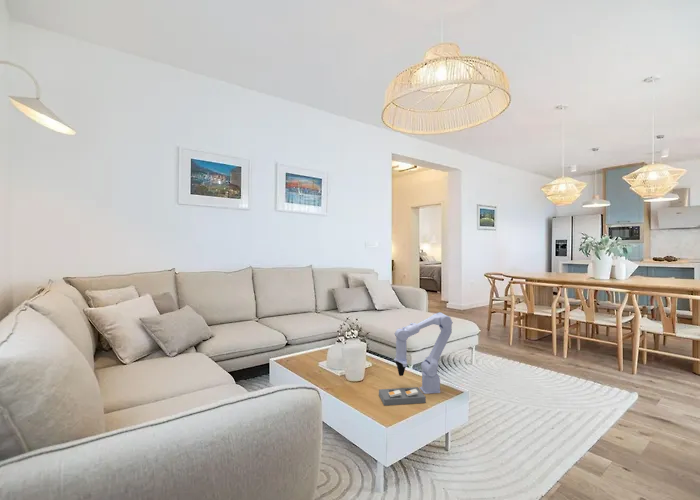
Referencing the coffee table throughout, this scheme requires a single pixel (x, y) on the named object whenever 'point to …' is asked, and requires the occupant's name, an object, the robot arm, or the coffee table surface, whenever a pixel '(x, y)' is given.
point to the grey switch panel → (401, 397)
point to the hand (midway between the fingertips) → (401, 375)
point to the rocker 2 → (411, 392)
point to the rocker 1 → (394, 393)
